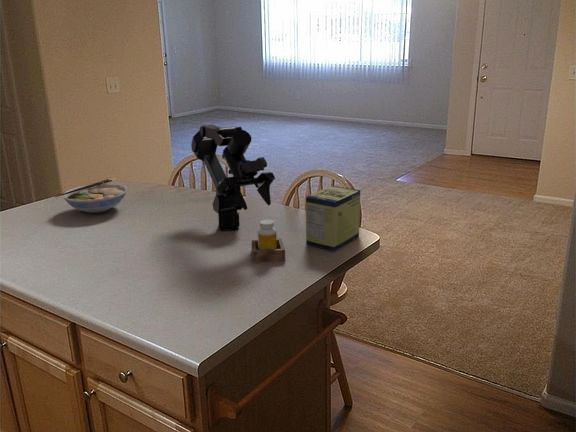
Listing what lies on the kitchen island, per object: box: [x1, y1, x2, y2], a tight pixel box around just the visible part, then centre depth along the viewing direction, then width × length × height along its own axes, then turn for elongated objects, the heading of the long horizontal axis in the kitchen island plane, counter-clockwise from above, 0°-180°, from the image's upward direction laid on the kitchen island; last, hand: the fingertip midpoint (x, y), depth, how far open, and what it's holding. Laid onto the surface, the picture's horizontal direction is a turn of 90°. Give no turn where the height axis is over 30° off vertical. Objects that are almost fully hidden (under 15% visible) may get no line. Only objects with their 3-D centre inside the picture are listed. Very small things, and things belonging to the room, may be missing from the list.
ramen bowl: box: [54, 178, 128, 214], centre depth 196 cm, size 25×23×8 cm
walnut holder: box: [250, 238, 286, 264], centre depth 154 cm, size 9×9×3 cm
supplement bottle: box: [257, 219, 277, 250], centre depth 153 cm, size 5×5×10 cm
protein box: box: [305, 185, 361, 252], centre depth 162 cm, size 10×16×16 cm
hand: (258, 207), depth 158 cm, fingers open, 9 cm apart
